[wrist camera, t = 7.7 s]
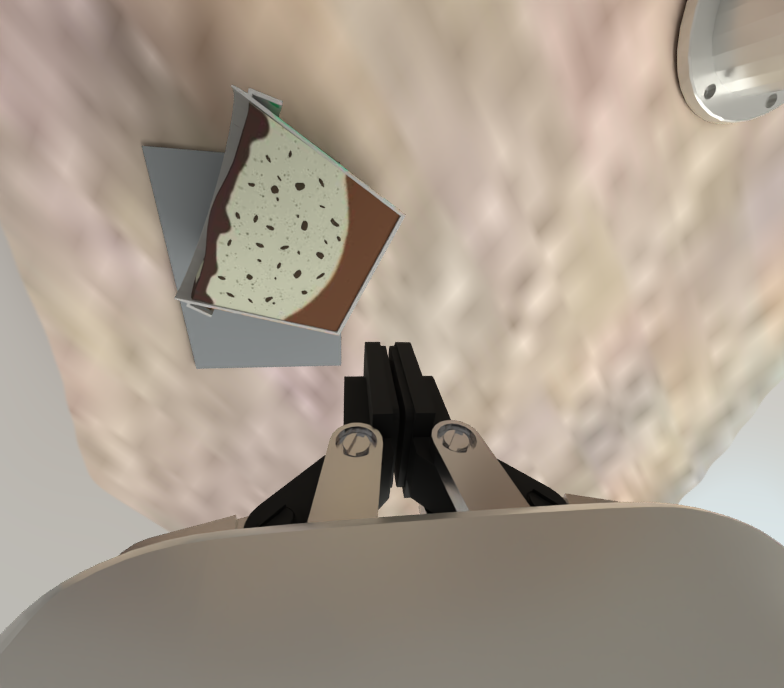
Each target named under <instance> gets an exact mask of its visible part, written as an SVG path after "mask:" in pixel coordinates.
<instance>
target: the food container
mask: <svg viewBox="0 0 784 688" xmlns="http://www.w3.org/2000/svg"><path fill="white" fill-rule="evenodd" d="M231 87H232V88H233V92H234V104H233V113H232V120H231V125H230V131H229V136H228V141H227V145H226V150H225V154H224V158H223V162H222V166H221V170H220V174H219V177H218V181H217V185H216V188H215V192H214V195H213V198H212V202H211V205H210V208H209V211H208V215H207V218H206V221H205V224H204V227H203V230H202V233H201V236H200V238H199V241H198V244H197V247H196V250H195V252H194V255H193V257H192V260H191V263H190V265H189V267H188V270H187V272H186V275H185V277H184V279H183V282H182V284H181V286H180V288H179V290H178V292H177V294H176V296H175V298H174V299H176V300H179V301H182V302H185V303H187V305H186V306H187V307H189V308H191V309H193V310H196V311H198V312H200V313H202V314H204V315H207V316H209V317H211V316H212V314H213V311H214V309H218V310H222V311H227V312H231V313H236V314H241V315H245V316H250V317H254V318H259V319H264V320H268V321H273V322H277V323H282V324H287V325H291V326H296V327H300V328H305V329H309V330H314V331H319V332H323V333H328V334H332V335H337V336H339V335H340V333H341V331H342V329H343V328H344V326H345V324H346V322H347V320H348V319H349V317H350V315H351V313H352V311H353V310H354V308H355V306H356V304H357V302H358V301H359V299H360V297H361V295H362V293H363V291H364V290H365V288H366V286H367V284H368V282H369V281H370V279H371V277H372V275H373V273H374V272H375V270H376V268H377V266H378V264H379V263H380V261H381V259H382V257H383V255H384V253H385V252H386V250H387V248H388V246H389V244H390V243H391V241H392V239H393V237H394V235H395V234H396V232H397V230H398V228H399V226H400V224H401V223H402V221H403V219H404V217H405V215H406V214H404V213H403V212H402V211H400V210H399V209H398V208H396V207H395V206H394V205H392V204H391V203H390V202H389V201H387V200H386V199H385V198H383V197H382V196H381V195H379V194H378V193H377V192H375V191H374V190H373V189H372V188H370V187H369V186H368V185H366V184H365V183H364V182H362V181H361V180H360V179H358V178H357V177H356V176H354V175H353V174H352V173H351V172H349V171H348V170H347V169H345V168H344V167H343V166H341V165H340V164H339V163H337V162H336V161H335V160H334V159H332V158H331V157H330V156H328V155H327V154H326V153H324V152H323V151H322V150H320V149H319V148H318V147H316V146H315V145H314V144H313V143H311V142H310V141H309V140H307V139H306V138H305V137H303V136H302V135H301V134H299V133H298V132H297V131H296V130H294V129H293V128H292V127H290V126H289V125H288V124H286V123H285V122H284V121H282V120H281V119H280V118H278V117H279V114H280V111H281V108H282V102H283V101H281V100H278V99H276V98H273V97H271V96H268V95H266V94H263V93H261V92H259V91H256V90H254V89H251V88H249V89H248V93H246V92H244V91H243V90H241V89H239V88H238V87H236V86H234V85H231Z"/></svg>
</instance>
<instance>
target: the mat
mask: <svg viewBox="0 0 784 688" xmlns="http://www.w3.org/2000/svg"><path fill="white" fill-rule="evenodd" d="M142 148H143V153H144V157H145V161H146V165H147V169H148V173H149V177H150V181H151V185H152V189H153V193H154V197H155V201H156V205H157V210H158V214H159V218H160V222H161V226H162V230H163V234H164V238H165V242H166V246H167V250H168V254H169V258H170V262H171V266H172V271H173V275H174V279H175V283H176V287H177V291H178V290H179V288H180V286H181V284H182V282H183V279H184V277H185V275H186V272H187V270H188V267H189V265H190V263H191V260H192V257H193V255H194V252H195V250H196V247H197V244H198V241H199V238H200V236H201V233H202V230H203V227H204V224H205V221H206V218H207V215H208V211H209V208H210V205H211V202H212V198H213V195H214V192H215V188H216V185H217V181H218V177H219V174H220V170H221V166H222V162H223V158H224V154H225V153H222V152H210V151H198V150H186V149H174V148H162V147H151V146H142ZM337 163H339V164H340V162H337ZM180 303H181V307H182V311H183V315H184V319H185V323H186V327H187V332H188V336H189V340H190V344H191V348H192V352H193V356H194V360H195V364H196V368H197V369H201V368H246V367H291V366H336V365H341V333H340V335H339V336H337V335H332V334H328V333H323V332H319V331H314V330H309V329H305V328H300V327H296V326H291V325H287V324H282V323H277V322H273V321H268V320H264V319H259V318H254V317H250V316H245V315H241V314H236V313H231V312H227V311H222V310H218V309H214V311H213V314H212V316H211V317H209V316H207V315H204V314H202V313H200V312H198V311H196V310H193V309H191V308H189V307H187V306H186V305H187V303H185V302H182V301H180Z"/></svg>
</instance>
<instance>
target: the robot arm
mask: <svg viewBox="0 0 784 688" xmlns="http://www.w3.org/2000/svg"><path fill="white" fill-rule="evenodd" d="M677 72H678V78H679V83H680V89H681V91H682V93H683V96H684V98H685V101H686V103H687V104H688V105H689V107H690V108H691V109H692V111H693V112H694V113H695V114H696V115H698V116H699V117H701V118H702V119H703V120H705V121H708V122H712V123H715V124H732V123H738V122H744V121H750V120H753V119H755V118H758V117H761V116H763V115H766V114H767V113H769V112H771V111H773V110H774V109H776V108H778V107H780V106H781V105H782V104H784V0H687V3H686V7H685V11H684V15H683V19H682V22H681V26H680V33H679V40H678V48H677ZM394 474H395V481H396V486H397V487H402V489H403V494H404V498H410V497H411V498H412V499H414V500H415V501H416V502H418V503H419V512H420V515H406V516H392V517H378V510H379V509H380V507H381V506H382V505H383V504H384V503H385V502H386V501H387V500H388V499H389V494H390V488H392V484H393V475H394ZM0 688H784V546H783V545H781V544H780V543H779V542H778V541H776V540H775V539H773V538H772V537H770V536H769V535H767V534H766V533H764V532H762V531H761V530H759V529H757V528H755V527H753V526H751V525H749V524H746V523H744V522H741V521H739V520H737V519H734V518H731V517H728V516H725V515H722V514H718V513H715V512H711V511H707V510H704V509H700V508H696V507H690V506H683V505H678V504H670V503H656V502H618V501H611V500H604V499H598V498H591V497H585V496H578V495H571V494H565V495H564V497H561V496H560V495H559V494H558V493H556V492H555V491H554V490H552V489H551V488H549V487H547V486H545V485H544V484H542V483H540V482H538V481H536V480H535V479H533V478H531V477H529V476H527V475H526V474H524V473H522V472H520V471H518V470H517V469H515V468H513V467H511V466H509V465H507V464H506V463H504V462H502V461H500V460H498V459H497V458H496V457H495V456H494V454H493V453H492V451H491V450H490V448H489V447H488V446H487V444H486V443H485V441H484V440H483V438H482V437H481V436H480V434H479V433H478V432H477V431H476V430H475V429H474V428H473V427H471V426H470V425H468V424H466V423H463V422H461V421H456V420H451V419H450V417H449V414H448V412H447V409H446V407H445V404H444V402H443V400H442V397H441V395H440V392H439V390H438V387H437V385H436V383H435V380H434V378H433V377H432V376H422V373H421V370H420V368H419V365H418V362H417V359H416V357H415V354H414V351H413V348H412V346H411V343H410V342H395V345H394V346H390V347H389V357H388V355H387V350H386V346H381V345H380V342H365V352H364V376H357V377H344V425H343V426H341V427H339V428H338V429H337V430H336V431H335V432H334V433H333V434H332V436H331V438H330V441H329V445H328V448H327V452H326V455H325V456H323V457H322V458H321V459H319V460H318V461H317V462H315V463H314V464H313V465H311V466H310V467H309V468H307V469H306V470H305V471H304V472H302V473H301V474H300V475H298V476H297V477H296V478H294V479H293V480H292V481H290V482H289V483H288V484H286V485H285V486H284V487H283V488H281V489H280V490H279V491H277V492H276V493H275V494H273V495H272V496H271V497H269V498H268V499H267V500H265V501H264V502H263V503H261V504H260V505H259V506H258V507H257V508H256V509H255V510H254V511H253V512H252V513H251V514H250V515H249V516H247V517H244V518H240V519H237V517H236V515H234V516H230V517H226V518H222V519H219V520H215V521H211V522H207V523H204V524H200V525H196V526H193V527H189V528H185V529H181V530H178V531H174V532H170V533H167V534H163V535H159V536H155V537H151V538H148V539H145V540H143V541H140V542H138V543H136V544H133V545H132V546H130V547H129V548H128V549H126V550H125V551H124V552H122V553H121V554H120V555H119V556H117V557H114V558H112V559H109V560H107V561H104V562H102V563H99V564H97V565H95V566H93V567H91V568H89V569H87V570H84V571H82V572H80V573H79V574H77V575H75V576H73V577H71V578H69V579H68V580H66V581H64V582H62V583H60V584H59V585H58V586H56V587H55V588H53V589H52V590H50V591H49V592H47V593H46V594H44V595H43V596H41V597H40V598H39V599H38V600H37V601H35V602H34V603H33V604H32V605H31V606H29V607H28V608H27V609H26V610H25V611H23V612H22V613H21V614H20V615H19V616H18V617H17V618H16V619H15V620H14V621H13V622H12V623H11V624H10V625H9V626H8V627H7V628H6V629H5V630H4V631H3V632H2V633H1V634H0Z"/></svg>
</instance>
